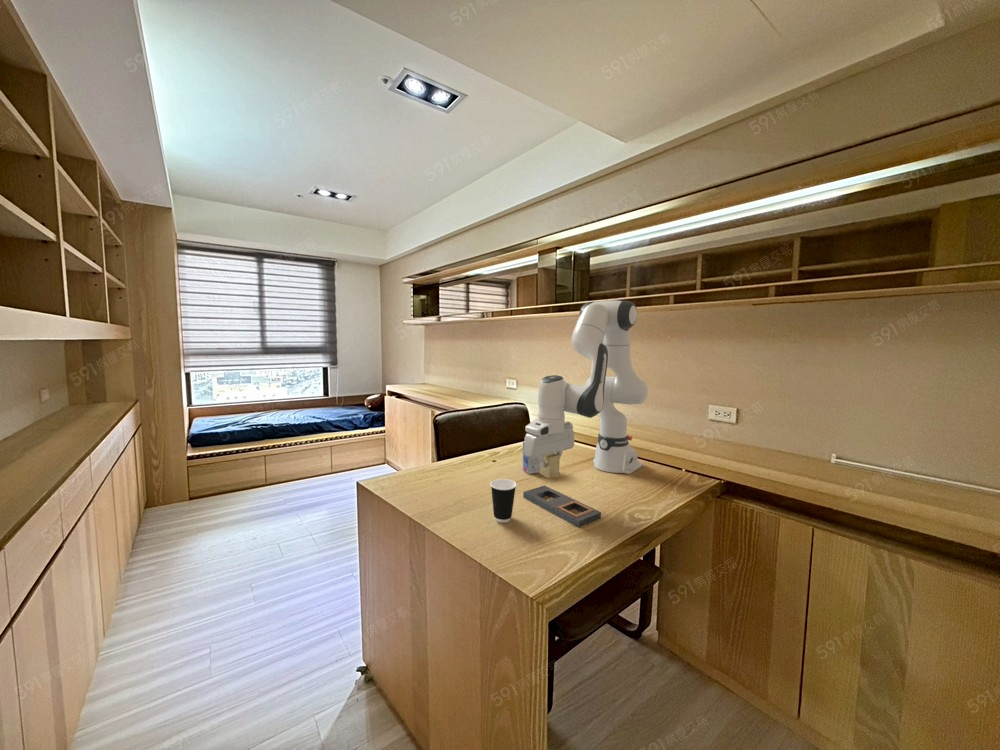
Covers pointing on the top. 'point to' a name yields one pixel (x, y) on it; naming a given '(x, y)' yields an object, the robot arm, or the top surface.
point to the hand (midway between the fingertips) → (549, 465)
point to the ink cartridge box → (530, 464)
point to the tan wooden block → (551, 465)
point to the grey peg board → (562, 506)
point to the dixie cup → (503, 499)
